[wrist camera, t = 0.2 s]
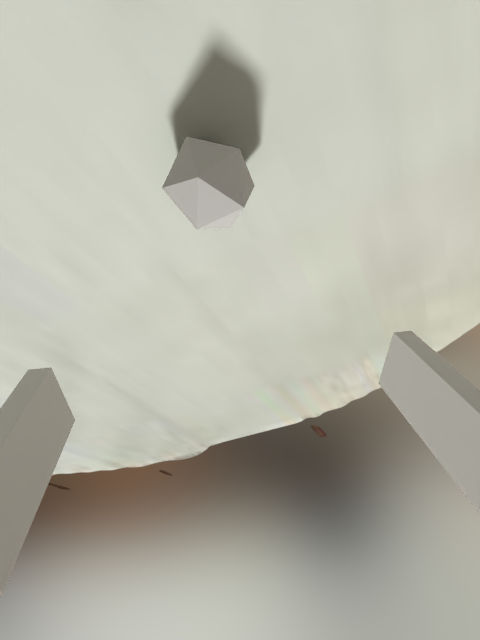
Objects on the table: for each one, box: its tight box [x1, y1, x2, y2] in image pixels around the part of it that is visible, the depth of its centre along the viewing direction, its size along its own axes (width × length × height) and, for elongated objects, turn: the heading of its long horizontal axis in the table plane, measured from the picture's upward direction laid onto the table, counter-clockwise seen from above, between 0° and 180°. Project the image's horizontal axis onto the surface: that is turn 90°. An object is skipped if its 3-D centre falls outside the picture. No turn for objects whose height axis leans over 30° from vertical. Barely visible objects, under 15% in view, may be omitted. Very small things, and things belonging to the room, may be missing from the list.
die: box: [162, 136, 254, 229], centre depth 30 cm, size 8×9×10 cm
